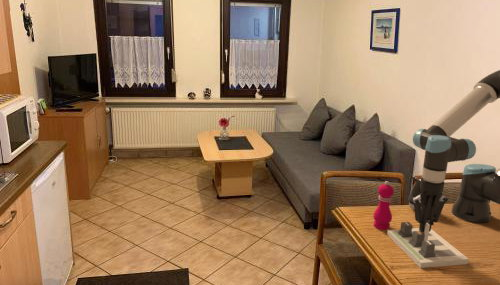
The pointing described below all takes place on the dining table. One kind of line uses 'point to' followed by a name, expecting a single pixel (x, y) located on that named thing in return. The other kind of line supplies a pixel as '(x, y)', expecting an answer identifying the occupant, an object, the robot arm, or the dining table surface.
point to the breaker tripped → (417, 238)
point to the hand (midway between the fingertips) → (423, 239)
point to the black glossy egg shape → (414, 192)
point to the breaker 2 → (427, 249)
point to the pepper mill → (383, 207)
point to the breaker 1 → (405, 229)
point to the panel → (442, 249)
